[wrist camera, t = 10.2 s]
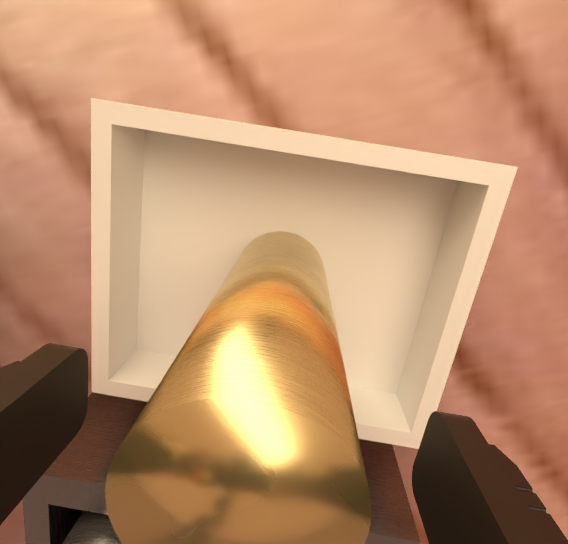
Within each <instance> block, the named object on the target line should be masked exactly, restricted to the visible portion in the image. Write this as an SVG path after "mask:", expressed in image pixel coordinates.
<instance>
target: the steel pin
mask: <svg viewBox="0 0 568 544" xmlns="http://www.w3.org/2000/svg"><path fill="white" fill-rule="evenodd" d="M62 544H122V543H121V541H120V540H119V538H118V536H117V534H116V533H115V531H114V529H113V526H112V524H111V521H110V519H109V515H106V514H100V513H95V512H89V511H83V512H82V514H81V515H80V517H79V518H78V520H77V521H76V523H75V525H74V526H73V528H72V529H71V531H70V532H69V534H68V536H67V537H66V539H65V540H64V542H63V543H62Z"/></svg>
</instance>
